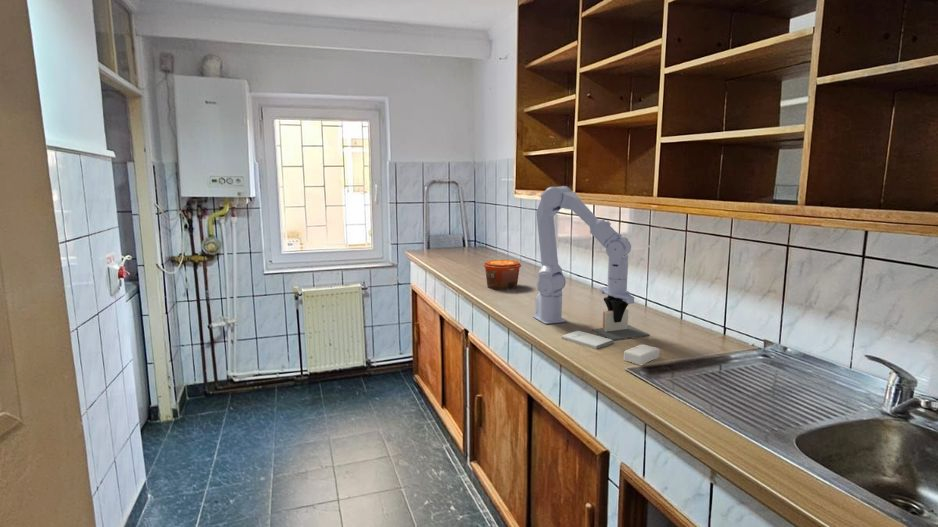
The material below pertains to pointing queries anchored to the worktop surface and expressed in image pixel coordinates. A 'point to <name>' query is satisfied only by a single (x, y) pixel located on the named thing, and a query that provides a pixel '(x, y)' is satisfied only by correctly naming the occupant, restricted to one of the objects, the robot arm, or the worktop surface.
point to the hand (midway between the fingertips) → (615, 321)
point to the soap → (641, 354)
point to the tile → (611, 325)
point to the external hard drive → (587, 339)
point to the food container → (502, 274)
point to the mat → (621, 333)
